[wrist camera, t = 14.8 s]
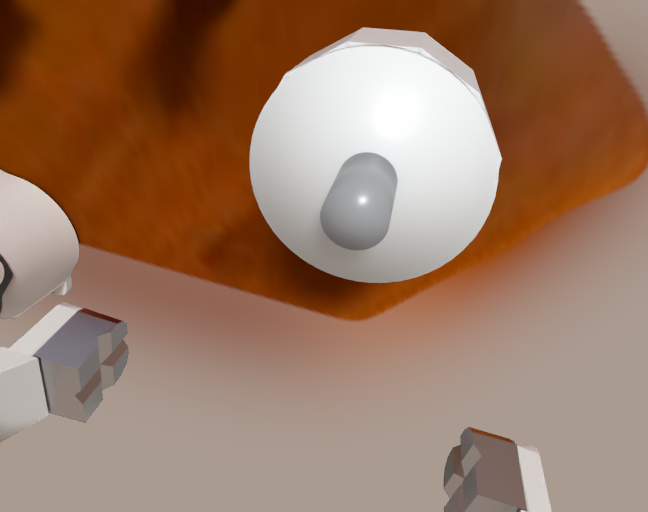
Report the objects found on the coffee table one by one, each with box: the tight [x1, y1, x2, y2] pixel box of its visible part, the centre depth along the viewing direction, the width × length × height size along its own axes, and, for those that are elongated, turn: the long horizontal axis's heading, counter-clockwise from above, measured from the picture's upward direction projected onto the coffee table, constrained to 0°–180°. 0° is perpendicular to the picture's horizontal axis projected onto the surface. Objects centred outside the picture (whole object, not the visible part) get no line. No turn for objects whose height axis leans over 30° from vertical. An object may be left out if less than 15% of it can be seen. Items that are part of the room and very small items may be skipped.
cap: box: [250, 27, 502, 283], centre depth 23 cm, size 12×12×10 cm
